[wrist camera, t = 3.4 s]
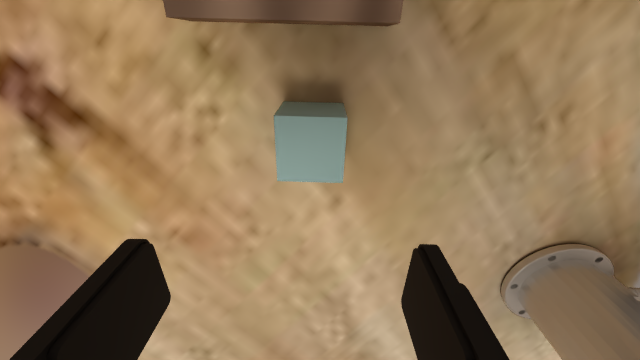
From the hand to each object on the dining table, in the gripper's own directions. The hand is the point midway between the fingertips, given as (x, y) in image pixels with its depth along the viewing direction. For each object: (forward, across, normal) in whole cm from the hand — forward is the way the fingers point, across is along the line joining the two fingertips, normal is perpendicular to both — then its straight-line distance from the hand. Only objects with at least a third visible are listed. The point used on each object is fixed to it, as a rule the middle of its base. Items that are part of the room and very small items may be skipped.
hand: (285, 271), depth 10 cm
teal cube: (+18, -1, 0) cm, 18 cm away
